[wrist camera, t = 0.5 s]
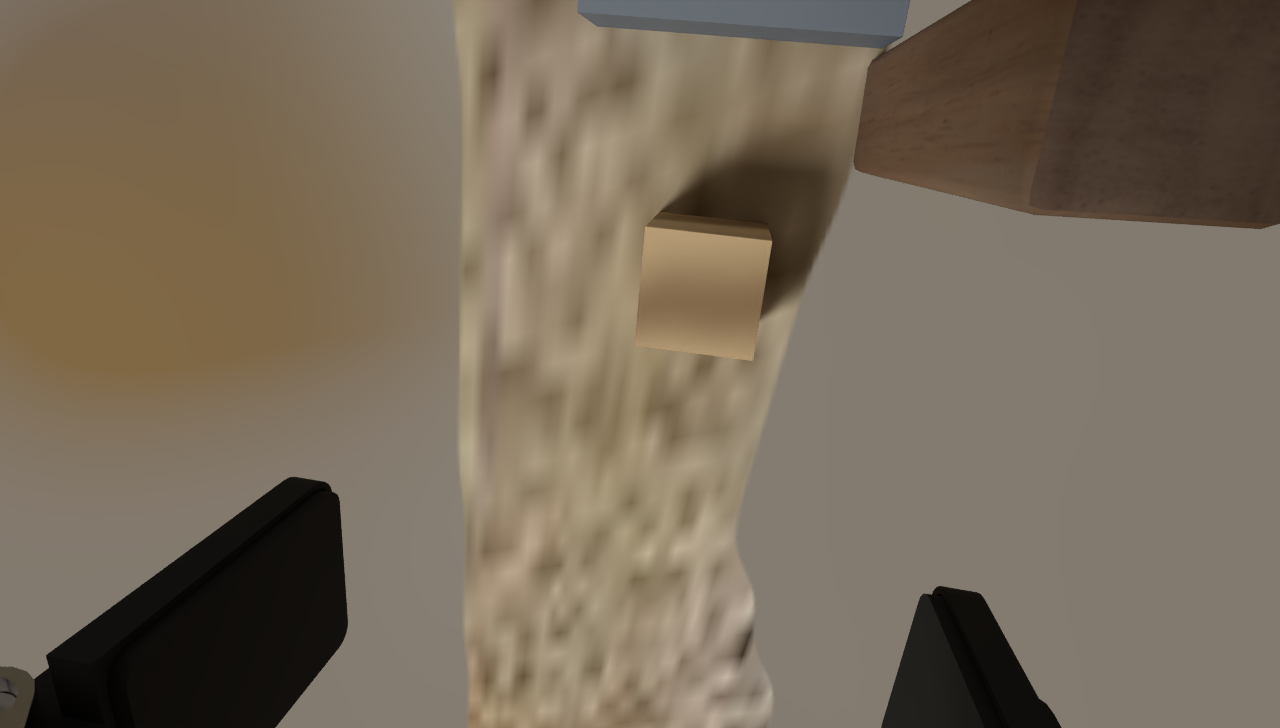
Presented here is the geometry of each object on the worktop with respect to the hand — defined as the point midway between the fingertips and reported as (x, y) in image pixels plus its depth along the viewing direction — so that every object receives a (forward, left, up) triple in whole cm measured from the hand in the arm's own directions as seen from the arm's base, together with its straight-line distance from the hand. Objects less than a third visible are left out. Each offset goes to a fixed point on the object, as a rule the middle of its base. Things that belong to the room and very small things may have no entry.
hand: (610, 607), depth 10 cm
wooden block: (-8, +10, -22) cm, 26 cm away
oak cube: (-1, 0, -22) cm, 22 cm away
